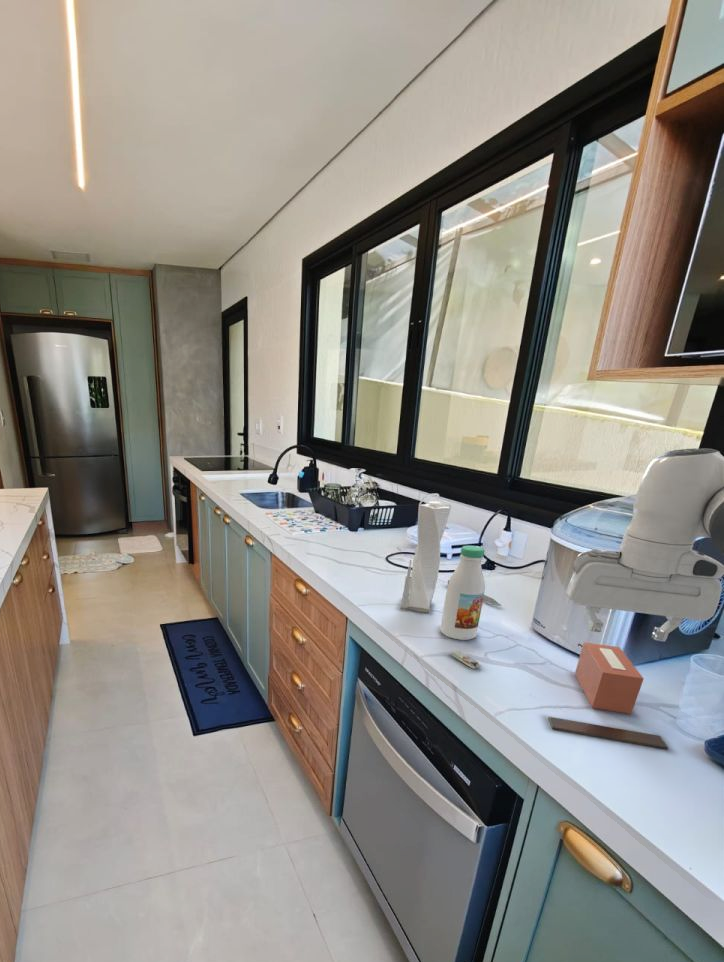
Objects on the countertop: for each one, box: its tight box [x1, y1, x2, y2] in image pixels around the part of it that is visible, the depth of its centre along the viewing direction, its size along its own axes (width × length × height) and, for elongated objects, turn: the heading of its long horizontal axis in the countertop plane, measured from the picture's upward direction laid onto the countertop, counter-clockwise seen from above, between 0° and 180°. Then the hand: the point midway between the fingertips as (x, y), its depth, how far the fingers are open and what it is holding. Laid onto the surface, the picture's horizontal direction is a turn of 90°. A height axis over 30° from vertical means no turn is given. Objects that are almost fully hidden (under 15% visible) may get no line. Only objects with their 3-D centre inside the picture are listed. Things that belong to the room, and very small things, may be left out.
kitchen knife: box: [447, 579, 502, 607], centre depth 135 cm, size 18×1×2 cm, turn 27°
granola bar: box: [449, 650, 482, 669], centre depth 101 cm, size 7×2×1 cm, turn 25°
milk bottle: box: [440, 545, 486, 641], centre depth 110 cm, size 8×8×20 cm
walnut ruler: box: [548, 716, 669, 750], centre depth 80 cm, size 16×3×1 cm, turn 74°
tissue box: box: [574, 642, 644, 715], centre depth 90 cm, size 6×12×7 cm, turn 164°
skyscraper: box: [400, 493, 452, 614], centre depth 123 cm, size 8×8×28 cm
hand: (625, 634), depth 84 cm, fingers open, 8 cm apart
